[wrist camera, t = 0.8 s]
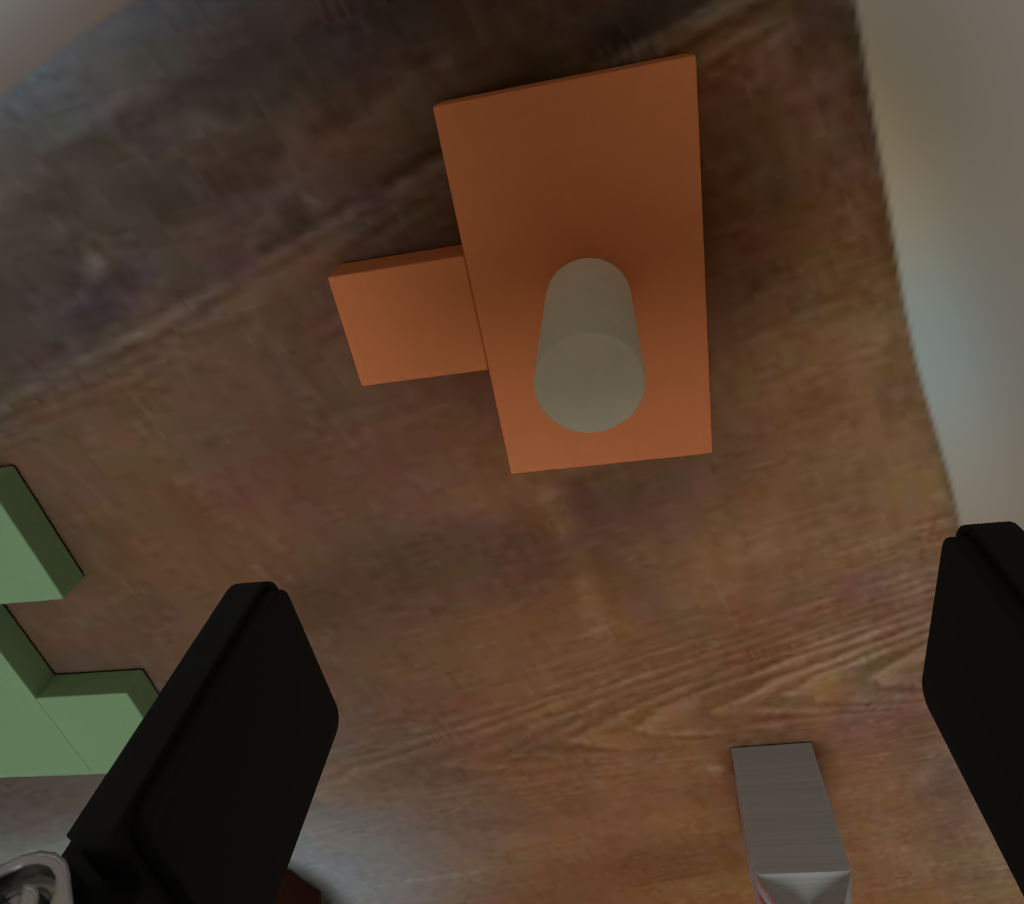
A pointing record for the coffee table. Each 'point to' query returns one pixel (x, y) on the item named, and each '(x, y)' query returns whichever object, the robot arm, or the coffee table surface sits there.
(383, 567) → the coffee table surface
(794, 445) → the coffee table surface
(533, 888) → the coffee table surface
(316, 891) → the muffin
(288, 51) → the coffee table surface
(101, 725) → the notch pad
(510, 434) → the tab pad
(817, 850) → the grey piece
